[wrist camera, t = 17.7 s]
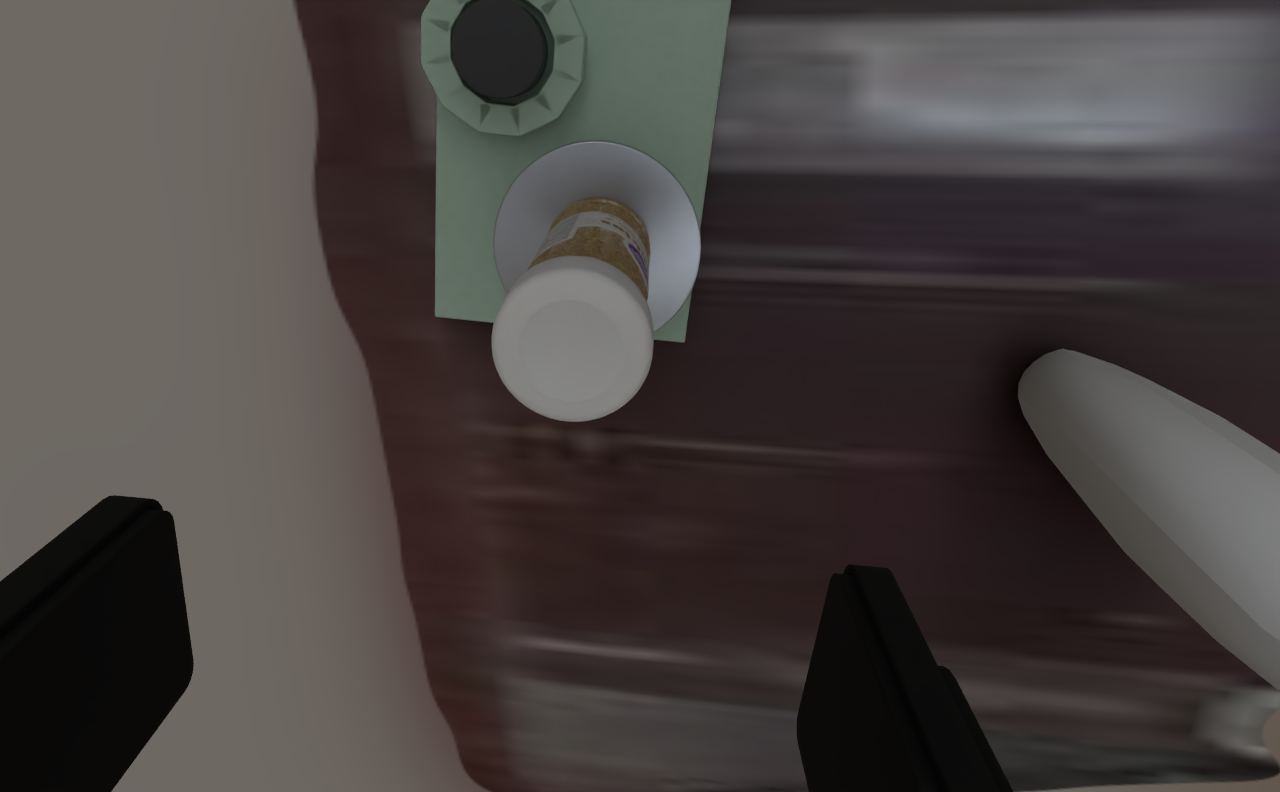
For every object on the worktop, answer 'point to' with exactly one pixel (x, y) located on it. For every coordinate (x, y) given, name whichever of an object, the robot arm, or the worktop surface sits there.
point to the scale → (568, 120)
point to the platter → (614, 178)
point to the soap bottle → (1170, 493)
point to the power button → (499, 48)
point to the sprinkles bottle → (579, 316)
